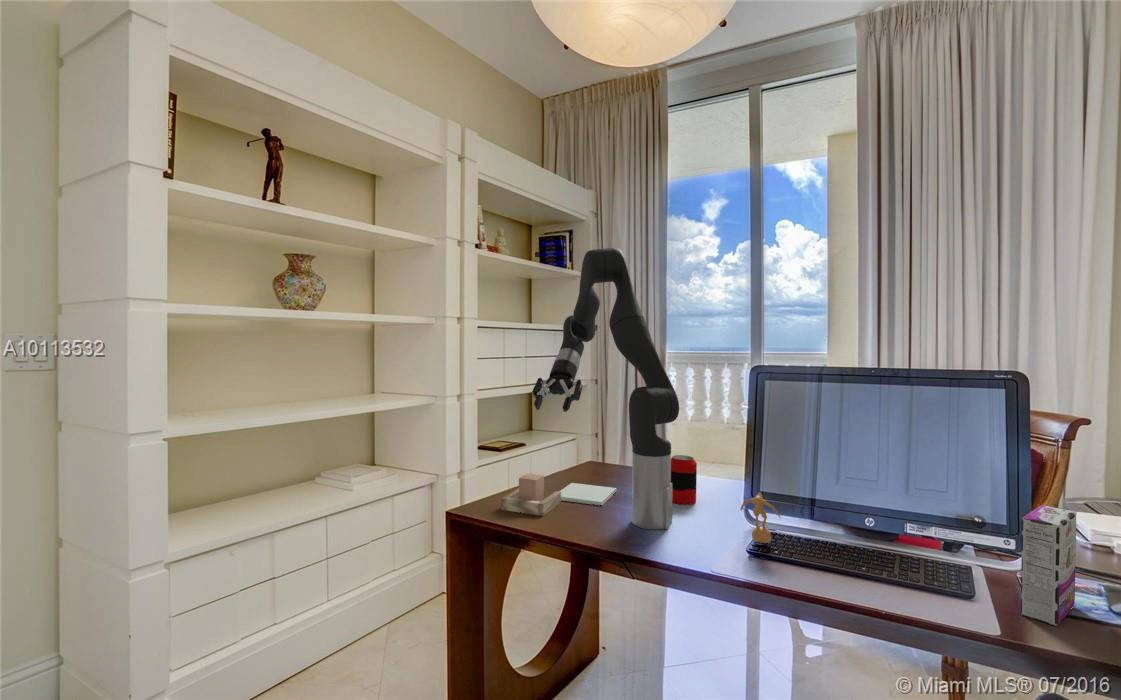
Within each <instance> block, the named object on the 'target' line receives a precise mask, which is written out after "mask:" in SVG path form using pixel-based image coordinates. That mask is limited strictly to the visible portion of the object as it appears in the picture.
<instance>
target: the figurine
mask: <svg viewBox="0 0 1121 700" xmlns="http://www.w3.org/2000/svg"><path fill="white" fill-rule="evenodd" d="M748 503H753V506H754V508H753V510H752V513H753V515H754V516H755V519H754V522H755V526H756V527H755V528H754V529H753V530H752V532H751V538H752V541H753V540H754V541H755V542H760V543H769V542H770V543H771V541H772V534H771V532H770V530H769V529H768V528H767V527H766V523H767V519H768V516H767V512H766V510H763V509H764V506H765V505H766V507H769V508H770V509H772V510H773V511H774V513H775V514H776V515H777V516H778V517H779V519H781V516H780V514H779V512H778V511H777V509H776V508H775V506H774V505H772V504H771V503H769V502H768V501H766V500H765V499H764V498H763V494H762V493H761V492H758V493H757V494H756V495H755V497H752V498H749V499H745V500H744V501H742V504H741V507H740V512H742V511H743V510H744V507H745V505H746V504H748ZM760 515H761V518H763V520H762V521H761V522H762V526H759V523H758V522H759V516H760ZM754 541H753V542H754ZM755 542H754V543H755ZM770 543H769V544H770Z"/></svg>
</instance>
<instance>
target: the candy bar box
mask: <svg viewBox="0 0 1121 700" xmlns="http://www.w3.org/2000/svg"><path fill="white" fill-rule="evenodd" d="M1076 539H1077V511H1073V510H1069V509H1064V508H1059V507H1053V506H1051V505H1042V504H1041V505H1039V506H1038V507H1036V508H1035V509H1033V510H1032V511H1030V512H1029V513H1027V514H1026V515H1024V516H1023V517H1021V575H1020V576H1021V578H1020V579H1021V581H1020V583H1021V585H1020V586H1021V587H1020V614H1021V615H1022V616H1024V617H1026V616H1027V618H1029V617H1030V618H1029V619H1032V618H1033V620H1035V619H1036V620H1035V621H1038V622H1042V623H1045V624H1048V625H1051V626H1055V627H1059V625H1061V623H1063V621H1064V620H1065V618H1066V617H1067V616H1068V614H1069V613H1070V612H1071V611H1072V610H1071V608H1072V607H1073V606H1074V604H1075V605H1076V602H1075V601H1076V600H1075V598H1076V590H1075V589H1076V550H1077V549H1076V548H1077V547H1076V546H1077V545H1076V541H1077V540H1076ZM1074 607H1075V606H1074ZM1074 607H1073V608H1074ZM1070 610H1071V611H1070ZM1069 611H1070V612H1069ZM1068 612H1069V613H1068ZM1066 615H1067V616H1066Z"/></svg>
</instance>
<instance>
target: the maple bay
mask: <svg viewBox="0 0 1121 700" xmlns="http://www.w3.org/2000/svg"><path fill="white" fill-rule="evenodd" d="M559 491H560V490H559ZM559 491H557V490H556V491H554V492H553V493H551V494H550V495H548V496H547V497H544V500H542V501H541V502H539V501H532V500H525V499H519V487H518V488H516V489H515V490H514V491H511V492H510V493H508V494H506V495H504V496H503V497H502V498H501V502H500V503H501V510H502V511H505V512H507V511H508V512H514V513H520V512H521V514H528V515H534V514H535V516H540V515H541V517H543V516H545V514H546V515H547V514H548V513H550V512H551V511H552V510H553V509H554V508H556V507H558V505H560V504H561V503H562V500H561V492H559ZM501 510H500V511H501Z"/></svg>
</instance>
